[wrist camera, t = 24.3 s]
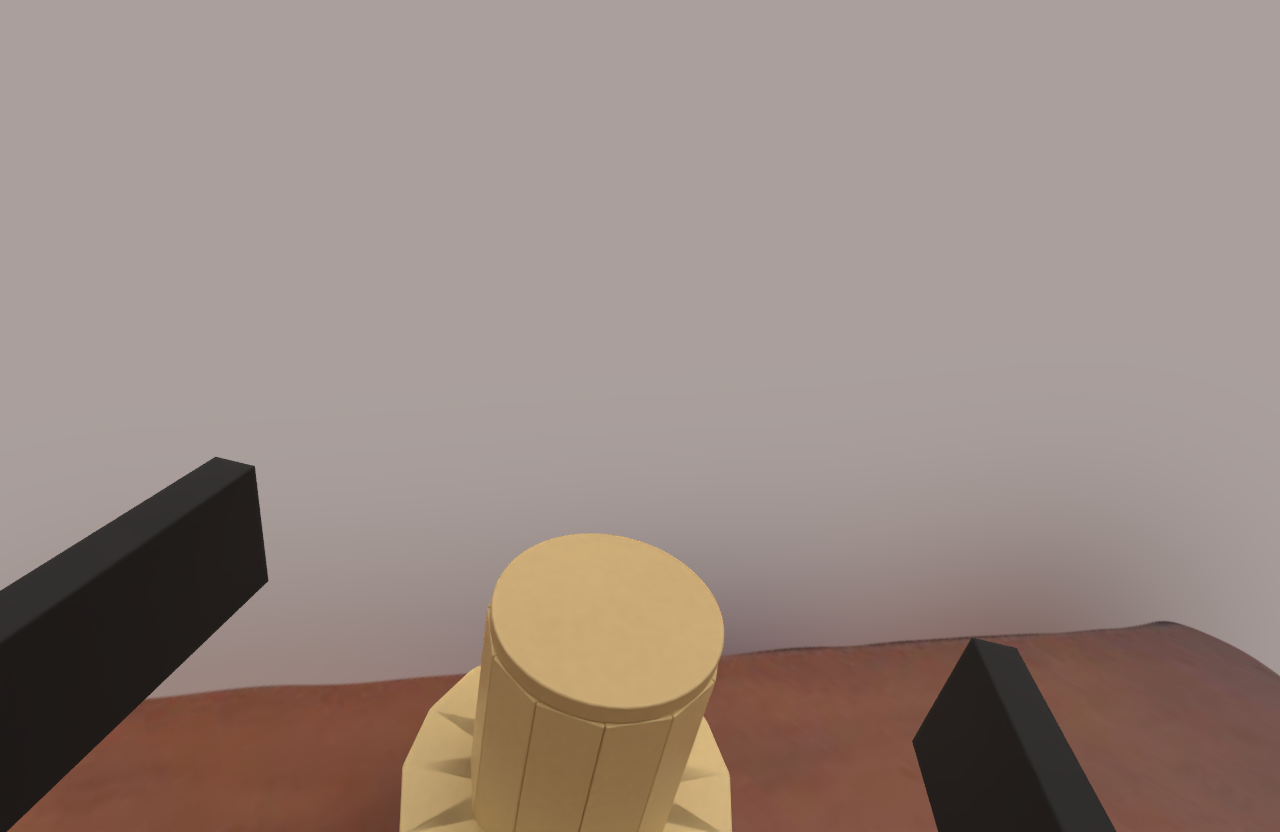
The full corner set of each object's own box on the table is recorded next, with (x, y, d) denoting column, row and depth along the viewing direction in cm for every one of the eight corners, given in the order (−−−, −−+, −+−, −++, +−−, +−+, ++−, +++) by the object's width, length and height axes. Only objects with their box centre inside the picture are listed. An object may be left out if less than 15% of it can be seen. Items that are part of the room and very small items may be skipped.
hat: (667, 640, 37) (709, 494, 33) (786, 924, 25) (881, 753, 20) (406, 665, 32) (413, 497, 28) (390, 1039, 20) (396, 845, 15)
